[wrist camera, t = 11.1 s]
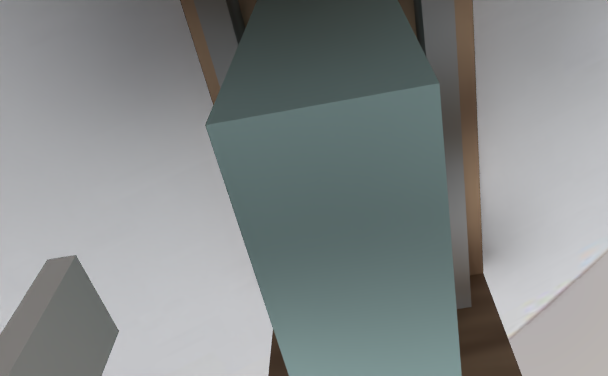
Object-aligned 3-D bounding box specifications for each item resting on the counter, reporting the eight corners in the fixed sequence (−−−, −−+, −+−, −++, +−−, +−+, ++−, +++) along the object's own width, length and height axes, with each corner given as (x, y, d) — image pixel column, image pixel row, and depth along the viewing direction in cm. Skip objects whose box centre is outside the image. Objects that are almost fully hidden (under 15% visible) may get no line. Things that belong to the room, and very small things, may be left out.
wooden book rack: (136, -195, 18) (-115, -252, 7) (446, -278, 16) (653, -481, 6) (284, 294, 29) (265, 535, 19) (474, 269, 28) (562, 512, 18)
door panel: (262, -14, 19) (204, 124, 9) (379, -39, 18) (440, 83, 9) (317, 218, 24) (314, 455, 15) (408, 204, 23) (467, 441, 14)
